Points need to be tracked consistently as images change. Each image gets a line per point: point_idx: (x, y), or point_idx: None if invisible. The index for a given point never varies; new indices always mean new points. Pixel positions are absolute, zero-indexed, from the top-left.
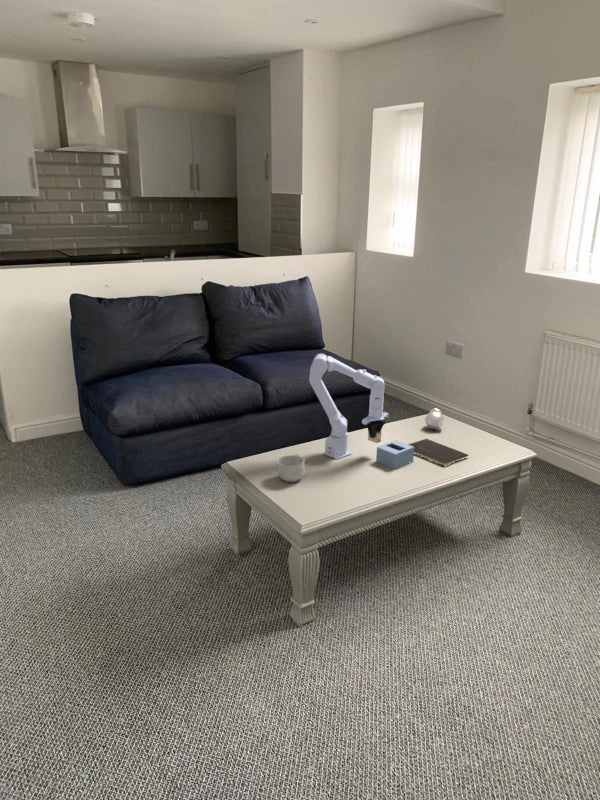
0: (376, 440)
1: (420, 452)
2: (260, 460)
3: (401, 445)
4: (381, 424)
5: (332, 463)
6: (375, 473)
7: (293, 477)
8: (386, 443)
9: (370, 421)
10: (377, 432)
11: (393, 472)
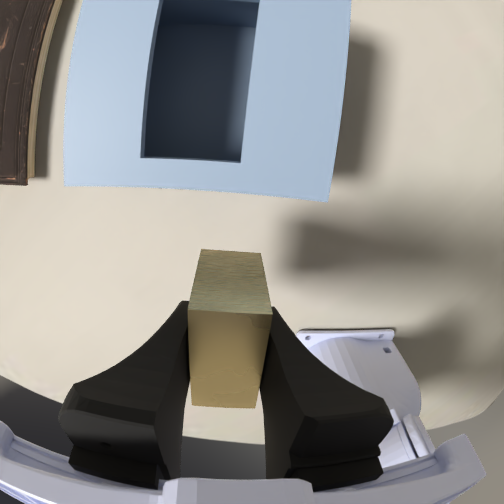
0: (262, 269)
1: (31, 52)
2: (460, 409)
3: (125, 61)
4: (165, 394)
5: (430, 311)
6: (430, 97)
7: None
8: (187, 188)
9: (364, 484)
10: (249, 324)
11: (359, 20)
